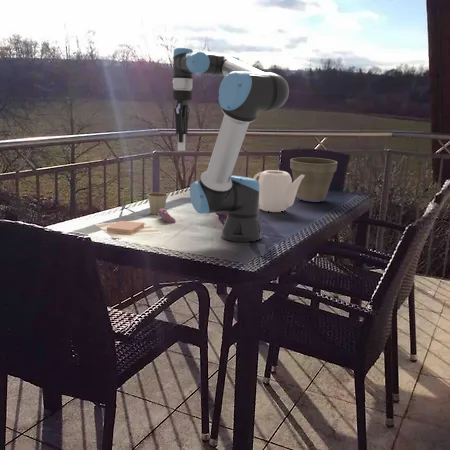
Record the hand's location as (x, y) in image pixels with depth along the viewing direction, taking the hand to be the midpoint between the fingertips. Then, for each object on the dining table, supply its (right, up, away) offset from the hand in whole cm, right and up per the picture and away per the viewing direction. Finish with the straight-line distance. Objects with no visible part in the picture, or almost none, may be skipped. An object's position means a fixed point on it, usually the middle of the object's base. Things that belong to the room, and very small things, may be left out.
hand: (181, 150), depth 205 cm
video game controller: (-7, -29, +9) cm, 31 cm away
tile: (-19, -29, -3) cm, 35 cm away
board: (-20, -32, -7) cm, 39 cm away
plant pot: (+64, -17, +71) cm, 97 cm away
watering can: (+42, -23, +40) cm, 63 cm away
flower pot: (-13, -25, +24) cm, 37 cm away
